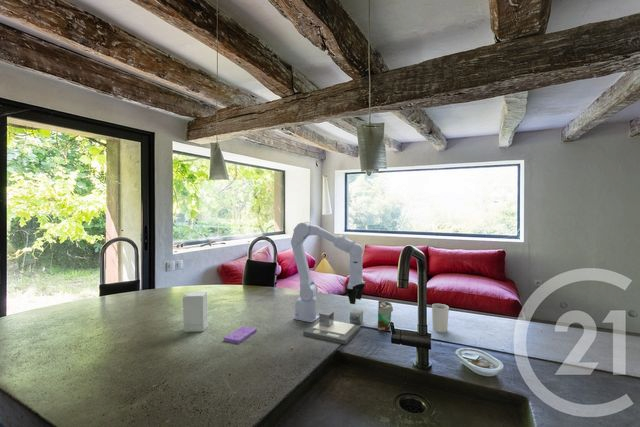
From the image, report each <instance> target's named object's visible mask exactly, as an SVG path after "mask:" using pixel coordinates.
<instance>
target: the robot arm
mask: <svg viewBox="0 0 640 427" xmlns="http://www.w3.org/2000/svg"><path fill="white" fill-rule="evenodd" d="M309 236H318V237H321V238H322V239H324V240H327V241H329V242H331V243H333V246H334V248H337V249H339V250H341V251H342V252H345V253H348V254H349V261H348V262H349V264H348V265H349V267H348V268H349V271H348V272H349V276H348V277H349V278H348V283H347V286H345V288H344V290H345V292H346V293H347V296H348V300H349V301H348V302H349V305H355V304H356V301H357V300H359V301H361V300H362V296H363V292H364V288H365V287H366V281H365V280H364V277H363V252H364V248H363V246H362V245H361V244H360V243H359V242H356V241H355V240H351V239H350V238H347V237H346V235H344V234H343V235H342V234H341V235H339V234H338V235H336V234H334V233H332V232H329V231H327V230H326V229H325V228H322V227H321V226H319V225H317V224H314V223H311V222H309V221H305V222H299V223H298V224H296V225H295V227H294V228H293V233H292V237H291V240H290V245H291V248H292V253H293V256H294V260H295V265H296V267H297V272H298V277H299V297H298V298H296V300H295V304H294V318H293V319H294V320H297V321H304V322H308V323H315V321H316V320H319V315H317V299H318V298H317V297H316V294H317V293H318V286H317V284H316V283H315V282H314V281H315V280H314V278H313V277H312V275H311V271H310V267H309V264H308V259H307V256H306V251H305V247H304V243H305V240H307V238H308V237H309Z"/></svg>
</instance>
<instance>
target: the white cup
mask: <svg viewBox="0 0 640 427" xmlns="http://www.w3.org/2000/svg"><path fill="white" fill-rule="evenodd" d="M449 307H450V306H448V305H446V304H444V303H443V304H442V303H433V304H431V311H432V312H431V313H432V315H431V316H432V330H433V331H434V332H436V333H437V332H438V333H447V332H448V325H449V312H450V308H449Z"/></svg>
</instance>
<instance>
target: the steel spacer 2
mask: <svg viewBox="0 0 640 427" xmlns="http://www.w3.org/2000/svg"><path fill="white" fill-rule="evenodd" d="M363 321H364V310H361V309H356V308H355V309H354V308H353V309H352V310H350V312H349V324H353V325H357V326H360V325H361V324H362V323H363Z"/></svg>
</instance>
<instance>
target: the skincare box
mask: <svg viewBox="0 0 640 427" xmlns="http://www.w3.org/2000/svg"><path fill="white" fill-rule="evenodd" d="M182 309H183V310H182V312H183V332H184V333H191V332H204V331H205V330H206V329H207V328H208V326H209V317H208V316H209V313H208V311H209V310H208V309H209V308H208V292H207V291H202V292H201V291H198V292H196V291H195V292H187V293H186V294H185V295H182Z"/></svg>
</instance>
